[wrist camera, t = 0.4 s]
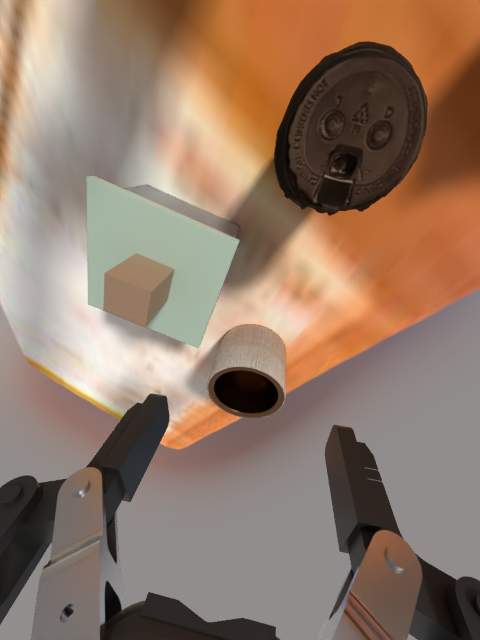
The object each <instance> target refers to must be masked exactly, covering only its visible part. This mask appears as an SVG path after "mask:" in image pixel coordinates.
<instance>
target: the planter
mask: <svg viewBox="0 0 480 640" xmlns="http://www.w3.org/2000/svg"><path fill="white" fill-rule="evenodd" d="M285 387H286V348H285V345H284V342H283V341H282V339H281V338H280V337H279V335H277V334H276V333H275V332H274V331H272V330H271V329H269V328H266V327H264V326H260V325H255V324H246V325H240V326H237V327H235V328H233V329H231V330H230V331H229V332H227V333H226V335H225V336H224V338H223V339H222V342H221V344H220V347H219V350H218V354H217V357H216V360H215V363H214V366H213V369H212V372H211V375H210V378H209V380H208V384H207V390H208V394H209V396H210V398H211V399H212V401H213V402H214V403H215V404H216V405H217V406H218V407H219V408H221V409H222V410H224V411H226V412H228V413H230V414H233V415H235V416H239V417H244V418H261V417H267V416H269V415H272V414H274V413H276V412H277V411H279V410H280V409H281V407H282V406H283V404H284V402H285Z"/></svg>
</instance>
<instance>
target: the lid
mask: <svg viewBox="0 0 480 640" xmlns="http://www.w3.org/2000/svg"><path fill="white" fill-rule="evenodd" d="M86 198H87V261H88V304H89V305H91V306H94V307H96V308H99V309H101V310H103V311H106V312H108V313H111V314H113V315H116V316H118V317H121V318H123V319H126V320H129V321H131V322H134V323H136V324H139V325H141V326H144V327H146V328H149V329H151V330H154V331H156V332H159V333H161V334H164V335H166V336H169V337H171V338H174V339H176V340H179V341H182V342H184V343H187V344H189V345H192V346H194V347H197V348H199V346H200V344H201V341H202V339H203V336H204V333H205V331H206V328H207V325H208V323H209V320H210V318H211V315H212V312H213V310H214V307H215V305H216V302H217V299H218V297H219V294H220V291H221V289H222V286H223V284H224V281H225V278H226V276H227V273H228V270H229V268H230V265H231V263H232V260H233V257H234V255H235V252H236V249H237V247H238V244H239V242H240V240H238V239H236V238H234V237H232V236H229V235H227V234H225V233H223V232H220V231H218V230H216V229H214V228H211V227H209V226H207V225H204V224H202V223H200V222H198V221H195V220H193V219H191V218H189V217H186V216H184V215H182V214H180V213H177V212H175V211H173V210H171V209H168V208H166V207H164V206H162V205H159V204H157V203H155V202H153V201H150V200H148V199H146V198H144V197H141V196H139V195H137V194H135V193H132V192H130V191H128V190H126V189H123V188H121V187H119V186H117V185H114V184H112V183H110V182H108V181H105V180H103V179H101V178H99V177H96V176H86Z"/></svg>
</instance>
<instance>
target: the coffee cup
mask: <svg viewBox="0 0 480 640" xmlns="http://www.w3.org/2000/svg"><path fill="white" fill-rule="evenodd" d="M427 105H428V103H427V97H426V95H425V92H424V89H423V87H422V84H421V81H420V79H419V77H418V76H417V75H416V73H415V71H414V69H413V67H412V65H411V63H410V62H409V61H408V60H407V59H406V58H405V57H404V56H402V55H401V54H400V53H398V52H397V51H396V50H395V49H394V48H392V47H391V46H387V45H383V44H379V43H375V42H369V41H368V42H358V43H355V44H353V45H351V46H349V47H347V48H345V49H343V50H341V51H339V52H336V53H333V54H330V55H328V56H325V57H324V58H323V59H322V60H321V61H320V63H319V64H317V65H316V66H315V67H314V68H313V69H312V70H311V71H310V72H309V73H308V74H307V75H306V76H305V78H304V79H303V80H302V81H301V83H300V84H299V86H298V87H297V89H296V91H295V92H294V94H293V96H292V98H291V100H290V103H289V105H288V107H287V110H286V112H285V115H284V118H283V120H282V122H281V125H280V127H279V129H278V132H277V139H276V146H275V153H274V163H275V171H276V174H277V179H278V181H279V185H280V187H281V189H282V190H283V191H284V193H285V197H286V198H287V199H288V198H289V199H291V200H292V202H294V203H296V204H297V205H299V206H300V207H301V209H302V210H303V209H305V208H306V207H310V208H313V209H315V210H316V211H317V212H318V213H326V212H327V213H328V215H329V216H330V215H333V214H335V213H337V212H338V211H347V210H352V209H357V210H358V211H363V210H365V209H367V208H369V207H370V206H371V205H372V204H373V203H375V202H376V201H378V200H379V199H381V198H382V197H385V196H386V195H387V194H388V193H389V192H390V191H391V190H392V189H393V188H395V187H396V186H397V185H398V184H399V183H400V182H401V181H402V180H403V179H404V177H405V176H406V174H407V173H408V171H409V170H410V169H411V167H412V165H413V163H414V162H415V161H416V159H417V157H418V154H419V152H420V148H421V145H422V141H423V138H424V136H425V132H426V123H427Z"/></svg>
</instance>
